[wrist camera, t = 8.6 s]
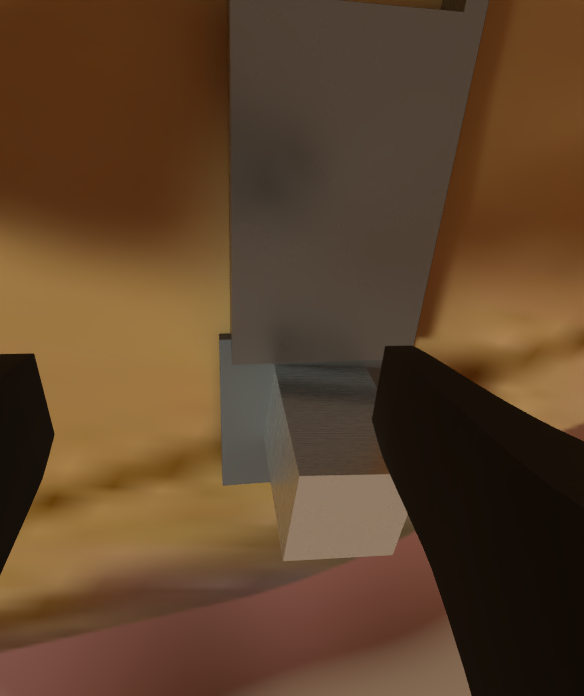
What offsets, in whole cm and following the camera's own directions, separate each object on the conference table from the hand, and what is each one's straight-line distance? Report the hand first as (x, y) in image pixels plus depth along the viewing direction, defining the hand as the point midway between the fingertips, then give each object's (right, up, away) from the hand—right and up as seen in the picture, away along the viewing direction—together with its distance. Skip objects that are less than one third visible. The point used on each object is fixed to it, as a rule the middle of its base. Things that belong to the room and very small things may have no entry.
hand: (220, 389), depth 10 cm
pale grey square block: (+3, -2, +13) cm, 14 cm away
